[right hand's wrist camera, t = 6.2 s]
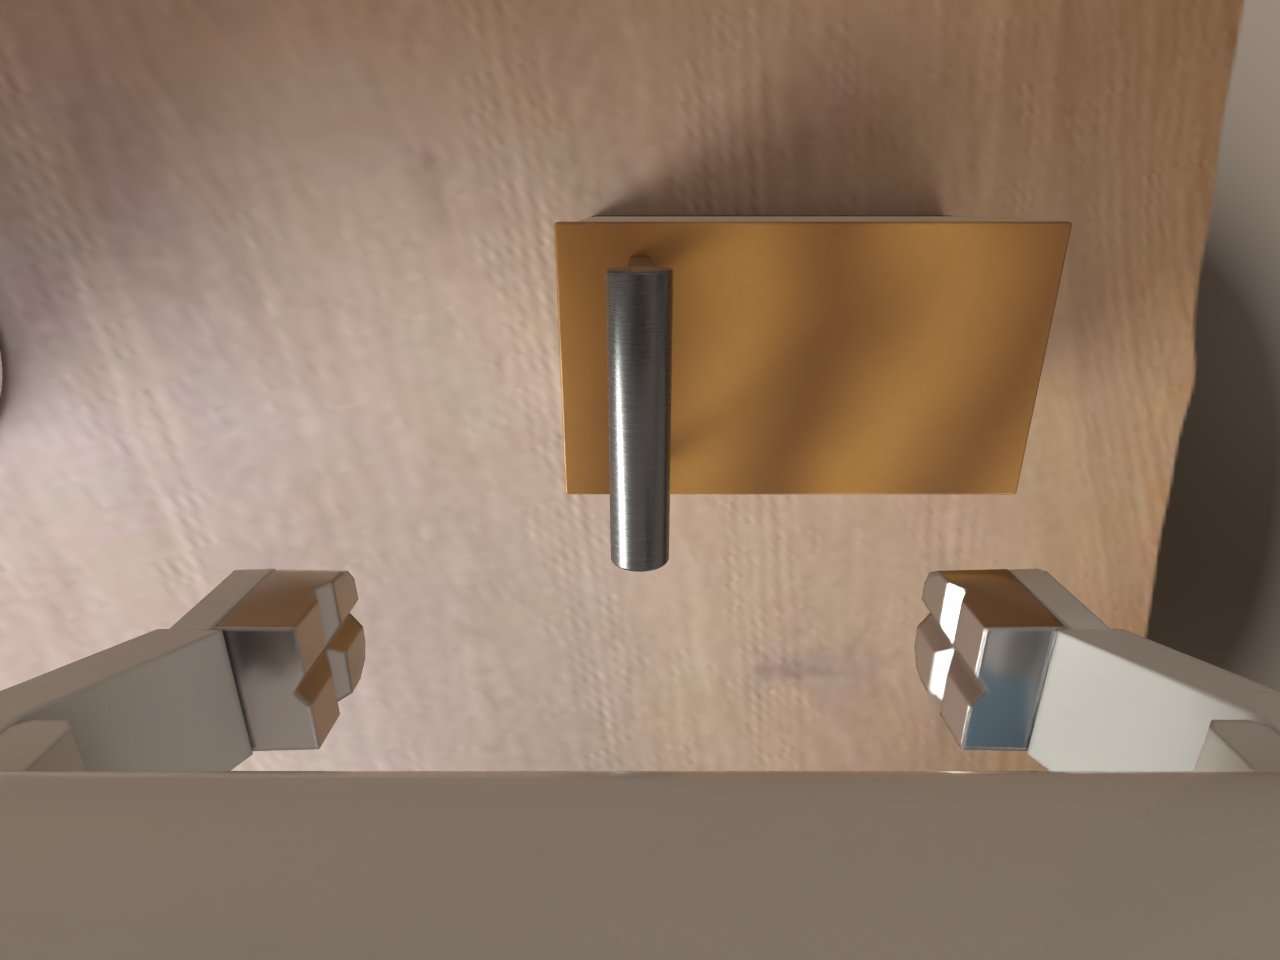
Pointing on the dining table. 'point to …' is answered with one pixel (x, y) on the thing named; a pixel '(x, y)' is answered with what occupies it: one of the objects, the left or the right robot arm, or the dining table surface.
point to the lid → (797, 360)
